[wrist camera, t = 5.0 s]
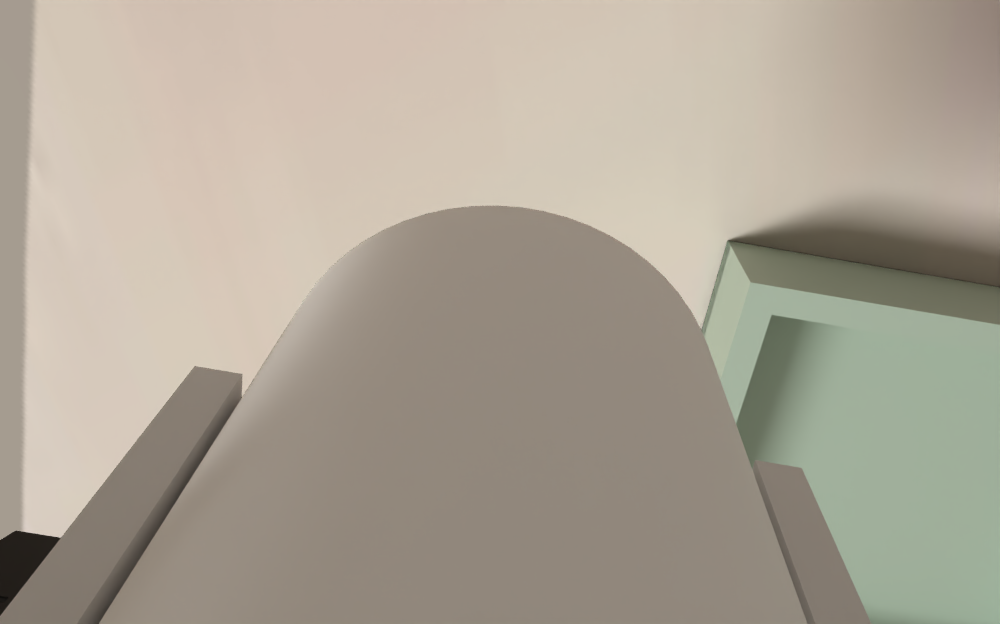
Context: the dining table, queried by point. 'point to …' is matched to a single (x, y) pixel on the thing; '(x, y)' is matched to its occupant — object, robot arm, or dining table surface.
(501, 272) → the cup
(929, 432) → the bin
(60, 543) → the robot arm
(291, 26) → the dining table surface
